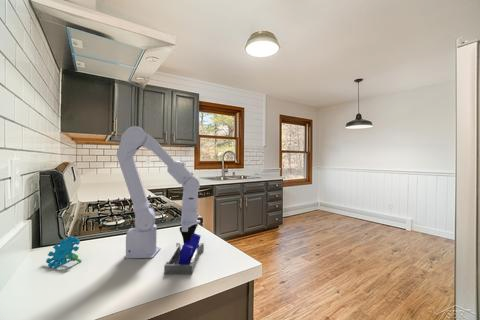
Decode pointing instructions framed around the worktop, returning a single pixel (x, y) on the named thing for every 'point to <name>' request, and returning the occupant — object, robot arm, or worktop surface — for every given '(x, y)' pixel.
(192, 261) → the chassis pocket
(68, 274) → the worktop surface
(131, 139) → the robot arm
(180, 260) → the cable clip
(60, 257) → the blue knobby toy
